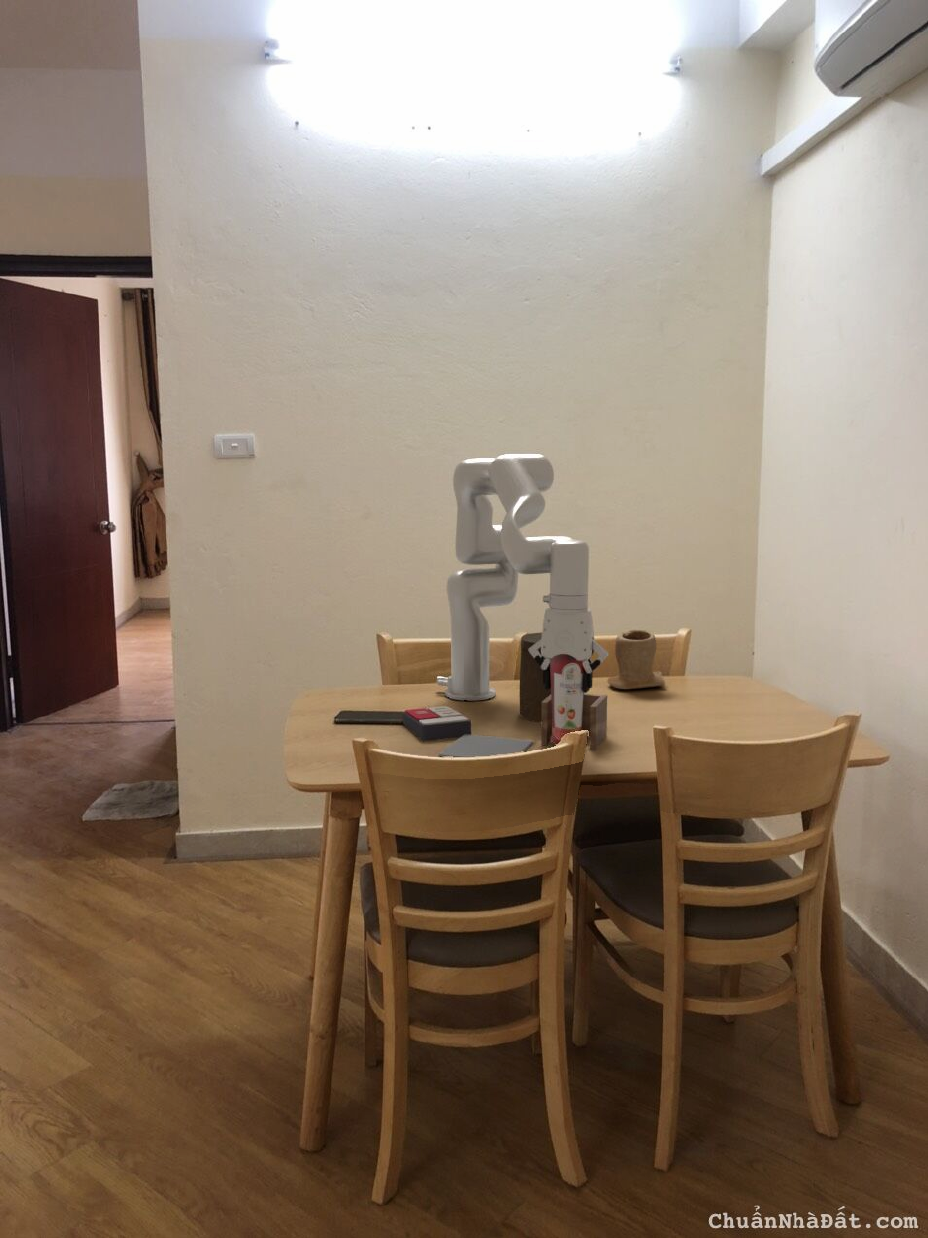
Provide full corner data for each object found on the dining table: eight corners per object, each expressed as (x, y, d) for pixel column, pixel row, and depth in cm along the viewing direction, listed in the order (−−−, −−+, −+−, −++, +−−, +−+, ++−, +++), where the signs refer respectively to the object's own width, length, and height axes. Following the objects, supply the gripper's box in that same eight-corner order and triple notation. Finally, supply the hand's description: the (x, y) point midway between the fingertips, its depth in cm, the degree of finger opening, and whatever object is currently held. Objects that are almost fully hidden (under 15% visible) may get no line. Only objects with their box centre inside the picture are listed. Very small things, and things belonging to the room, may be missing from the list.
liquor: (553, 751, 192) (555, 613, 187) (545, 740, 199) (546, 607, 194) (589, 749, 193) (591, 612, 188) (579, 738, 200) (581, 606, 195)
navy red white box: (448, 704, 219) (471, 717, 205) (448, 722, 219) (472, 736, 205) (401, 708, 215) (422, 722, 201) (402, 727, 215) (423, 742, 201)
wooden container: (588, 709, 227) (589, 617, 223) (578, 725, 213) (580, 627, 209) (526, 705, 231) (527, 614, 227) (513, 721, 217) (513, 624, 213)
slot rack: (541, 744, 199) (541, 702, 197) (554, 731, 208) (554, 690, 207) (595, 750, 195) (596, 706, 193) (606, 736, 204) (607, 695, 203)
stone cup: (620, 695, 240) (621, 636, 238) (602, 684, 251) (603, 628, 249) (676, 691, 244) (678, 633, 241) (655, 681, 255) (657, 625, 253)
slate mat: (438, 756, 191) (438, 753, 191) (465, 736, 205) (465, 733, 204) (510, 764, 185) (510, 761, 185) (532, 743, 199) (532, 740, 199)
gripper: (521, 603, 190) (520, 690, 193) (608, 607, 185) (606, 697, 188) (532, 597, 197) (531, 682, 200) (616, 602, 191) (613, 688, 194)
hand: (567, 688), depth 194 cm, fingers closed on liquor, 7 cm apart
